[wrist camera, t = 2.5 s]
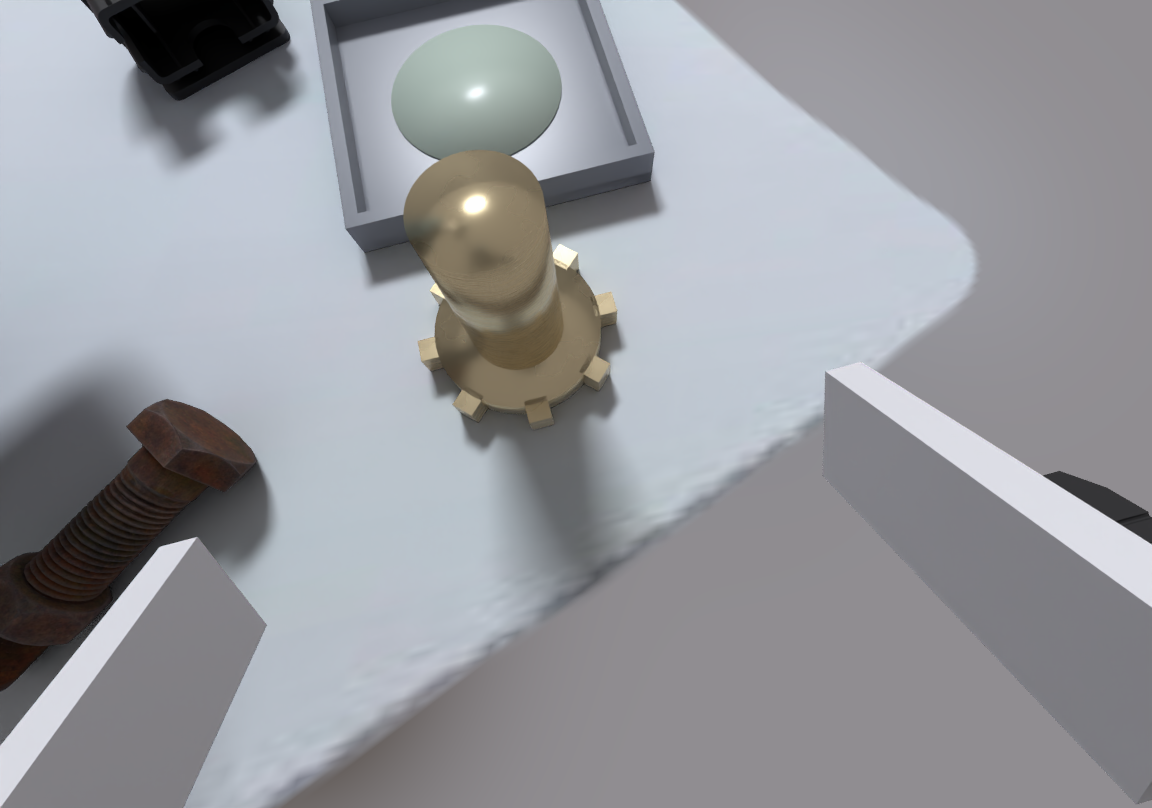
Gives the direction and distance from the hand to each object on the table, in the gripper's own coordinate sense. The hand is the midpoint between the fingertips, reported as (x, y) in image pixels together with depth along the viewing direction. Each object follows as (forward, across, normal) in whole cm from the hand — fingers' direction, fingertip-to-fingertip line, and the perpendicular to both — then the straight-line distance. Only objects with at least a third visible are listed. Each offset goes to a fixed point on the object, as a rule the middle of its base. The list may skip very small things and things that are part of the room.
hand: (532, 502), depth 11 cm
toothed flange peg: (+19, 0, -4) cm, 19 cm away
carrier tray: (+31, +1, +9) cm, 32 cm away
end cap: (+39, -16, +16) cm, 45 cm away
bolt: (+15, -23, -8) cm, 29 cm away
